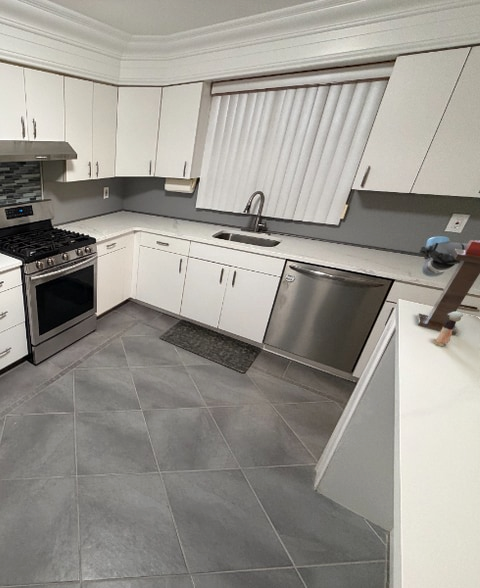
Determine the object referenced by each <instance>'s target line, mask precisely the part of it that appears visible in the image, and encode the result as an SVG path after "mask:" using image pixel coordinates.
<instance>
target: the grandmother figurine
mask: <svg viewBox="0 0 480 588" xmlns="http://www.w3.org/2000/svg"><path fill="white" fill-rule="evenodd" d="M448 316H450V317H449V318H450V320H448V321H447V322H446V323H445V324H444V326H443V328H442V330H441V331H440V333H439V335H437V337H436V338H435V339H433V341H432V343H433V344H434V345H436V346H439V347H444V346H445V344H449V342H450V340H451V339H452V338H451V337H452V329H453V328H454V326H455V327H456V324H457V322H460V321H461V320H462V317H463V316H464V314H463V312H460V311H456V312H451V313H449V314H448Z"/></svg>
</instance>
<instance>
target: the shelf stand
mask: <svg viewBox="0 0 480 588" xmlns="http://www.w3.org/2000/svg"><path fill="white" fill-rule="evenodd" d="M452 255H453V256H454V258H455V260H461V261H460V263H459V264H457V267H456V268H455V270H454V272H452V274H451V277H450V278H449V280H448V281H447V283H446V285H445V287H444V289H443V290H442V292H441V293H440V295H439V297H438V299H437V300H436V302H435V304H434V305H433V307H432V309H431V310H430V312H429V314H428V315H427V314H423V313H417V316H416V319H417V326H418V327H423V328H427V329H430V330H434V331H438V332H441V330H442V328H443V326H444V324H445V323H446V322H447V321H448V320H450V318H449V317H450V316H448V314H449V313H451V312H458V309H459V308H460V306H461V304H462V303H463V301H464V300H465V298H466V297H467V294H468V293H469V291H470V290H471V288H472V287H473V285H474V284H475V282H476V281H477V279H478V277H479V275H480V256H477V255H470V254H465V253H464V250H461V249H454V251H453V252H452ZM457 333H458V331H457V328H456V325H455V326H454V328H453V329H452V334H451V336H456V334H457Z"/></svg>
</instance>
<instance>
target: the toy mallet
mask: <svg viewBox="0 0 480 588" xmlns="http://www.w3.org/2000/svg"><path fill="white" fill-rule="evenodd" d="M467 244H468V245H467V247H466V249H465V250H464V253H465V254H470V255H477V256H480V240H476V239H470V240H469V241H468V243H467Z"/></svg>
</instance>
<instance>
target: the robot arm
mask: <svg viewBox="0 0 480 588" xmlns="http://www.w3.org/2000/svg"><path fill="white" fill-rule="evenodd" d="M467 245H468V243H461V242H453V241H450V238H449V237H448V236H442V235H441V236H440V235H439V236H433V237H430V238H428V239H427V241H426V245H425V246H421V247H420V249H419V254H420V255H421V256H423V257H424V258H423V259H424V265H423V266H422V268H421V272H422V274H423V275H424V276H426V277H430V278H436V277H439V276H441V275H443V274H444V273H445V272H447V271H449V270H450V269H451V268H452V267H454V266H456V265H459V263H460V261H461V260H455V258H454V256H453V255H452V252H453V251H454V249H461V250H465V249H466V247H467Z"/></svg>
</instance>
